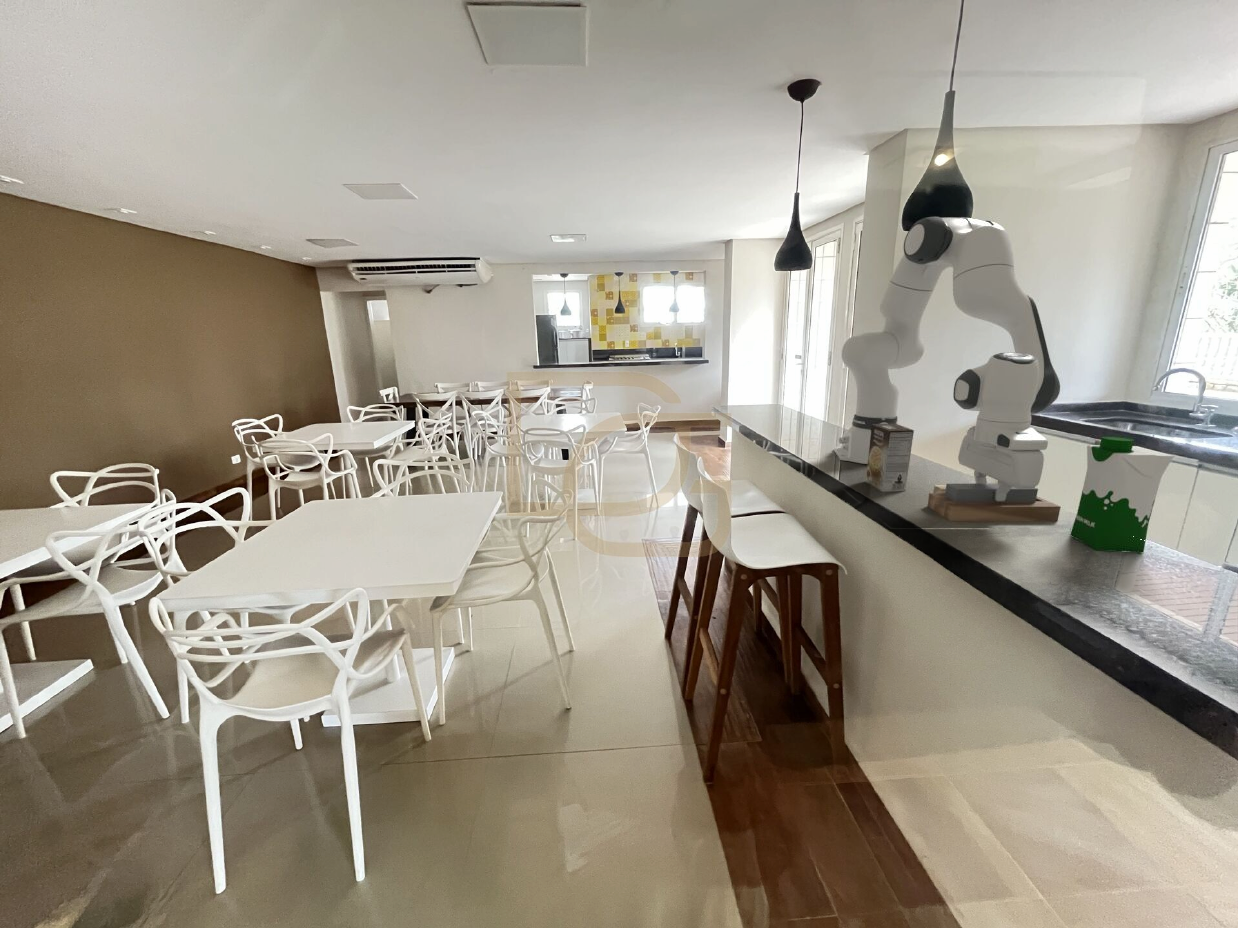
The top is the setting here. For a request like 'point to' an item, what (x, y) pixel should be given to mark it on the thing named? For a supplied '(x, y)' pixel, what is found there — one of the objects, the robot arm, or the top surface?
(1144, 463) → the milk carton
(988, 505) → the keyhole board
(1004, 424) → the robot arm
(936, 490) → the block
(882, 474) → the coffee box
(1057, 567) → the top surface
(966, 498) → the grey bar
